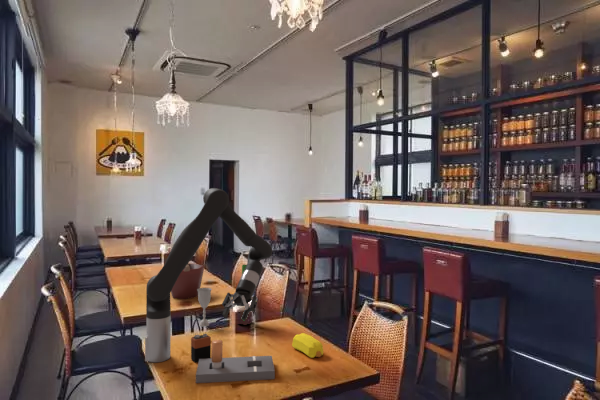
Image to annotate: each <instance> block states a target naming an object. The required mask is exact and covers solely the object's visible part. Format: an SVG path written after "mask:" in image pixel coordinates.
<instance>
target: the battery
mask: <svg viewBox="0 0 600 400" xmlns="http://www.w3.org/2000/svg"><path fill="white" fill-rule="evenodd" d="M190 340H191V343H190V352H191V353H190V359H191V361H193V362H194V363H199V359H208V358H211V354H212V341H211V336H210V335H208V333H203V334H201V335H200V334H195V335H194V336H192V337H191V339H190Z"/></svg>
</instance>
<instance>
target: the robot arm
mask: <svg viewBox="0 0 600 400" xmlns="http://www.w3.org/2000/svg"><path fill="white" fill-rule="evenodd" d="M202 198H203V199H202V200H203V203H204V204H203V206H202V208H201V210H200V211H199V213H198V214H197V215H196V217H195V218H194V219H193V220H191V222H190V223H188V224H187V226H185V228H184V229H183V230H182V231H181V232H180V234H179V236H178V237H177V239H176V240H175V242H174V243H173V245H172V247H171V250H170V252H169V254H168V256H167V258H166V260H165V262H164V264H163V266H162V267H161V269H160V270H159V271H158V273H157V274H155V275H152V276H151V277H150V278H149V279H148V281H147V283H146V299H145V300H146V304H145V305H146V310H145V311H146V334H145V335H146V336H145V337H144V350H145V351H144V362H149V363H161V362H166V361H168V360H169V359H170V358H171V317H172V316H171V314H172V313H171V290H172V288H173V286H174V284H175V282H176V281H177V279H178V277H179V275H180V274H181V272H182V271H183V269H184V268H185V267H186V265H187V264H190V263H189V262H190V261H191V260H192V258H193V257H194V256H195V254H196V252H198V250H199V248H200V247H201V245H202V244H203V241H205V238H206V237H207V235H208V234H209V232H210V230H211V228H212V227H213V225H214V224H215V222H216V221H217V220H218V218H220V219H221V220H222V221H223V222H224V223H225V224H226V225H227V226H228V228H229V229H230V230H231V231H232V232H233V234H234V235H235V236H236V237H237V239H238V240H239V241H240V242H241V243H242V244H243V246H246V247H250V249H249V251H248V255H247V262H246V263H247V264H245V265H246V268H245V270H244V272H243V274H242V273H241V276H240V277H239V281H238V283H237V285H236V287H235V292H234V293H230V292H229V291H228V292H227V293H226V295H225V297H224V298H223V301H222V303H221V305H222V306H223V308H224V309H223V312H222V317H223V318H225V319H227V318H228V316H229V315H228V314H229V313H230V310H231V309H232V308H234V307H237V306H245V309H246V310H244V312H243V315H242V317H241V319H242V320H243V321H245V319H247V317H248V314H249V312H251V311H252V313H254V312H255V311H256V307H257V305H258V303H259V299H258V297H257V295H254V293H255V291H256V288H257V285H258V283H259V280H260V276H261V274H262V272H263V268H264V266H263V264H262V262H261V261H262V260H265V259H269V258H270V257H272V255H273V248H272V245H271V244H270V243H269V242H268V241H267V240H265V239H264V238H263V237H261V236H260V235H258V234H257V233H256V232H255V230H254V229H253V228H252V227H251V226H250V225H249V224H248V222H246V221H245V220H244V219H243V218H242V217H241V216H240V215H239V214H238V213H237V212H235V210H234V209H233V208H232V207H231V205H230V204H229V203H230V197H229V195H228V193H227V192H226V191H225V190H223V189H221V188H216V187H212V188H209V189H207V190H206V191H204V194H203V197H202ZM251 300H252V302H251V305H250V307H249V304H248V302H250V301H251Z"/></svg>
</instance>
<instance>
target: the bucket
mask: <svg viewBox="0 0 600 400" xmlns="http://www.w3.org/2000/svg"><path fill="white" fill-rule="evenodd" d="M204 271H205V265H203V264H198V263H188V264H187V265H186V267H185V268H184V269H183V271H182V272H181V274H180V275H179V277H178V279H177V281H176V282H175V284H174V286H173V288H172V290H171V292H170V295H171V297H172V298H173V299H175V298H178V299H177V300H179V299H180V300H187V299H188V298H189V299H195V298H194V297H196V298H198V291H197V289H199V288H201V286H202V281H203V276H204Z"/></svg>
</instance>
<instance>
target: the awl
mask: <svg viewBox="0 0 600 400" xmlns="http://www.w3.org/2000/svg"><path fill="white" fill-rule="evenodd" d="M222 358H223V340H221V339H214V340H212V341H211V361H212V369H220V368H222Z"/></svg>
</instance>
